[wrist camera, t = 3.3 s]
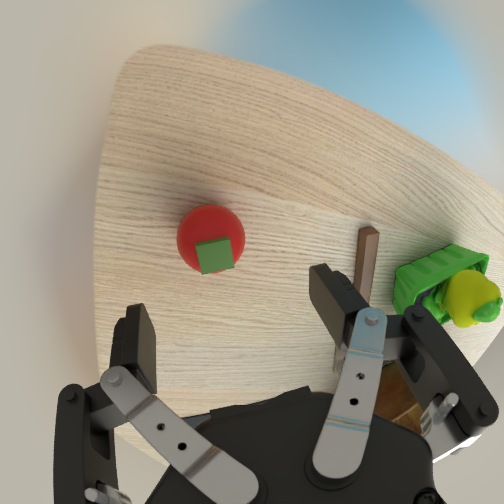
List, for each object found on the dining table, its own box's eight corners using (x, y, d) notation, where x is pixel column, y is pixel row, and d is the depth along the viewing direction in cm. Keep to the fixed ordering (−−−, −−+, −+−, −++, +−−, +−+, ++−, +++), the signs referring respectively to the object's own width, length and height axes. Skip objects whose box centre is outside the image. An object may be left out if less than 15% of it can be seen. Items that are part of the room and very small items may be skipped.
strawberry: (183, 257, 22) (186, 294, 18) (170, 202, 20) (169, 231, 16) (241, 244, 23) (256, 279, 19) (233, 189, 20) (248, 215, 17)
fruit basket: (381, 316, 32) (436, 389, 22) (386, 252, 27) (463, 329, 17) (450, 281, 33) (506, 336, 23) (462, 221, 28) (534, 275, 18)
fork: (357, 361, 35) (361, 368, 34) (332, 370, 35) (335, 377, 34) (382, 223, 25) (389, 229, 24) (348, 231, 24) (355, 237, 23)
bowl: (294, 392, 36) (322, 458, 27) (441, 299, 34) (487, 348, 26) (335, 431, 48) (355, 473, 39) (438, 366, 46) (465, 403, 38)
